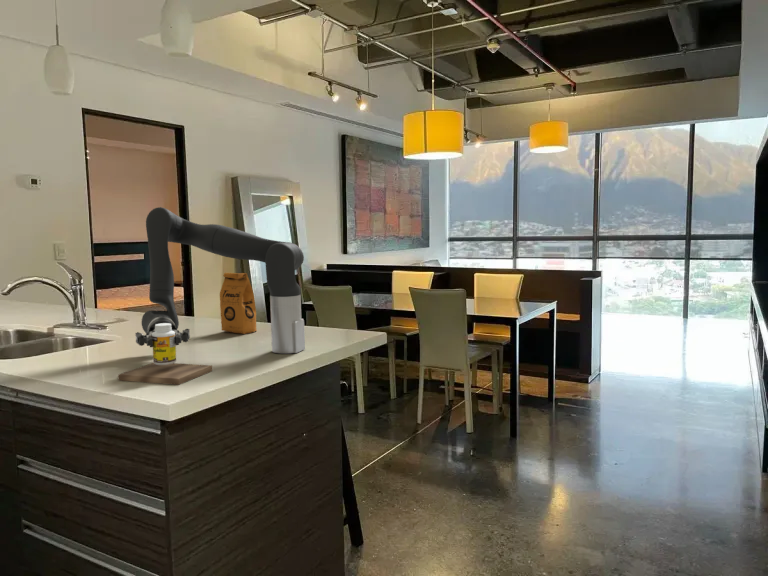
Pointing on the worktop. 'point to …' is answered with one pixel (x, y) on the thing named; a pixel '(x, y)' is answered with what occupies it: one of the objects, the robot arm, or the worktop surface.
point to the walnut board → (165, 373)
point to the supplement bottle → (164, 344)
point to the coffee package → (237, 304)
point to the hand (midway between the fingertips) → (164, 342)
